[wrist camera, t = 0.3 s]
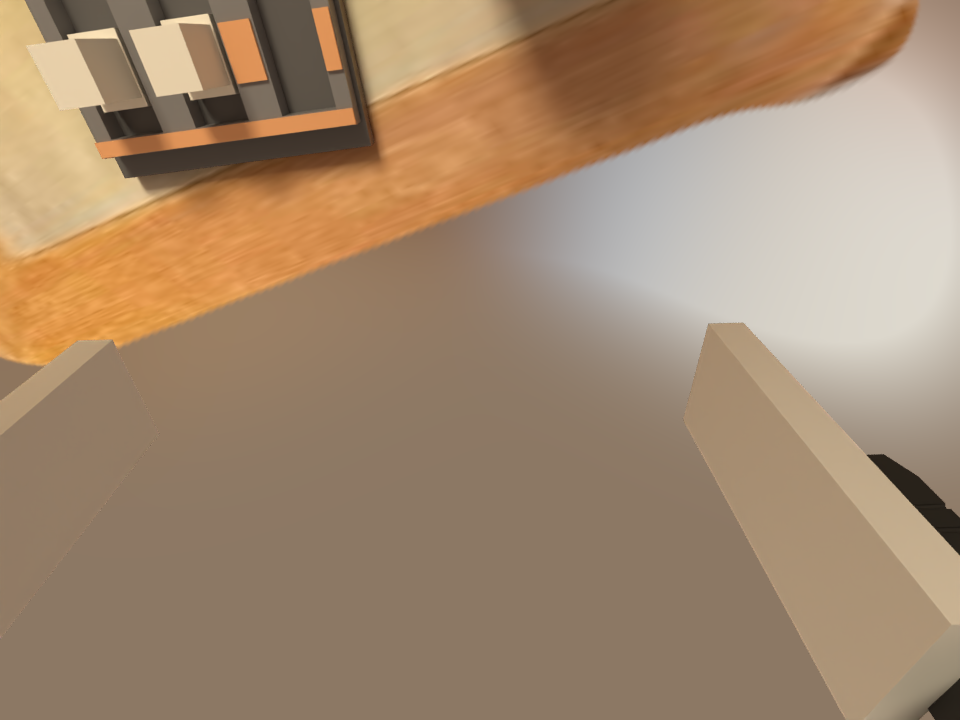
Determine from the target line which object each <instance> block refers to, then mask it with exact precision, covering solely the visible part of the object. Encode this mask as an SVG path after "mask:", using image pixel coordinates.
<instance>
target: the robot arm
mask: <svg viewBox="0 0 960 720" xmlns="http://www.w3.org/2000/svg"><path fill="white" fill-rule="evenodd" d="M683 421H684V423H685V425H686V426H687V428H688V430H689V432H690V434H691V436H692V437H693V439H694V441H695V443H696V445H697V447H698V449H699V450H700V452H701V454H702V456H703V458H704V459H705V461H706V463H707V465H708V467H709V469H710V470H711V472H712V474H713V476H714V478H715V480H716V482H717V484H718V485H719V487H720V489H721V491H722V493H723V495H724V496H725V498H726V500H727V502H728V504H729V505H730V508H731V509H732V511H733V513H734V515H735V517H736V519H737V520H738V522H739V524H740V526H741V528H742V530H743V532H744V533H745V535H746V537H747V539H748V541H749V543H750V544H751V546H752V548H753V550H754V552H755V554H756V556H757V557H758V559H759V561H760V563H761V565H762V566H763V568H764V570H765V572H766V574H767V576H768V577H769V579H770V581H771V583H772V585H773V587H774V589H775V591H776V592H777V594H778V596H779V598H780V600H781V602H782V603H783V605H784V607H785V609H786V611H787V613H788V614H789V616H790V618H791V620H792V622H793V624H794V625H795V627H796V629H797V631H798V633H799V635H800V636H801V639H802V640H803V642H804V644H805V646H806V648H807V650H808V651H809V653H810V655H811V657H812V659H813V660H814V662H815V664H816V666H817V668H818V670H819V672H820V673H821V675H822V677H823V679H824V681H825V683H826V685H827V686H828V688H829V690H830V692H831V694H832V696H833V698H834V699H835V701H836V703H837V705H838V707H839V708H840V710H841V712H842V714H843V716H844V718H845V719H846V720H919V719H920V718H921V717H922V716H923V715H924V714H925V713H927V712H928V711H929V712H930V713H931V714H932V716H933V717H934V719H935V720H960V518H959V517H958V516H957V515H956V514H955V513H954V512H953V511H952V510H951V509H946V507H945V503H944V502H943V501H942V500H941V499H940V498H939V497H938V496H937V495H936V494H935V493H934V492H933V491H932V490H931V489H930V488H929V487H928V486H927V485H926V484H925V483H924V482H923V481H922V480H921V479H920V478H919V477H918V476H917V475H915V474H914V473H912V472H910V471H909V470H907V469H906V468H904V467H903V466H901V465H900V464H898V463H896V462H895V461H893V460H892V459H890V458H888V457H887V456H886V455H884V454H883V455H882V454H880V455H866V454H865V453H864V452H863V451H862V450H861V449H860V448H859V447H858V446H857V445H856V443H854V441H853V440H852V439H851V438H850V437H849V436H848V435H847V434H846V433H845V432H844V431H843V430H842V428H841V427H840V426H839V425H838V424H837V423H836V422H835V421H834V420H833V419H832V418H831V417H830V416H829V415H828V414H827V412H826V411H825V410H824V409H823V408H822V407H821V406H820V405H819V404H818V403H817V402H816V400H815V399H814V398H813V397H812V396H811V395H810V394H809V393H808V392H807V391H806V390H805V389H804V388H803V386H802V385H800V383H799V382H798V381H797V380H796V379H795V378H794V377H793V376H792V375H791V374H790V373H789V371H788V370H786V368H785V367H784V366H783V365H782V364H781V363H780V362H779V361H778V360H777V359H776V357H775V356H774V355H773V354H772V353H771V352H770V351H769V350H768V349H767V348H766V347H765V346H764V345H763V344H762V342H761V341H760V340H759V339H758V338H757V337H756V336H755V335H754V334H753V333H752V332H751V331H750V329H748V327H747V326H746V325H745V324H744V323H718V324H708V328H707V331H706V335H705V339H704V342H703V346H702V350H701V354H700V358H699V361H698V365H697V369H696V373H695V376H694V380H693V384H692V388H691V392H690V396H689V399H688V403H687V407H686V411H685V415H684V419H683ZM159 434H160V433H159V431H158V429H157V427H156V425H155V423H154V421H153V419H152V417H151V415H150V413H149V411H148V409H147V407H146V405H145V403H144V402H143V400H142V398H141V396H140V394H139V392H138V390H137V388H136V386H135V384H134V382H133V380H132V378H131V376H130V374H129V372H128V370H127V368H126V366H125V364H124V362H123V360H122V358H121V356H120V354H119V352H118V350H117V348H116V346H115V344H114V342H113V340H83V341H77V342H75V343H74V344H73V345H71V346H70V347H69V348H68V349H66V350H65V351H64V352H62V353H61V354H60V355H59V356H57V357H56V358H55V359H54V360H52V361H51V362H50V363H48V364H47V365H46V366H45V367H43V368H42V369H41V370H40V371H39V372H37V373H36V374H34V375H33V376H32V377H31V378H30V379H28V380H27V381H25V382H24V383H23V384H22V385H20V386H19V387H18V388H16V389H15V390H14V391H13V392H12V393H10V394H9V395H8V396H6V397H5V398H4V399H3V400H1V401H0V639H1V637H2V636H3V635H4V633H5V632H6V631H7V630H8V628H9V627H10V626H11V624H12V623H13V622H14V621H15V619H16V618H17V617H18V615H19V614H20V613H21V612H22V610H23V609H24V607H25V606H26V605H27V604H28V603H29V601H30V600H31V599H32V597H33V596H34V595H35V594H36V592H37V591H38V590H39V588H40V587H41V586H42V585H43V583H44V582H45V581H46V579H47V578H48V577H49V576H50V574H51V573H52V572H53V570H54V569H55V568H56V566H57V565H58V564H59V563H60V561H61V560H62V559H63V558H64V556H65V555H66V554H67V552H68V551H69V550H70V548H71V547H72V546H73V545H74V543H75V542H76V541H77V539H78V538H79V537H80V536H81V534H82V533H83V532H84V531H85V529H86V528H87V527H88V525H89V524H90V523H91V522H92V520H93V519H94V518H95V516H96V515H97V514H98V513H99V511H100V510H101V509H102V507H103V506H104V505H105V503H106V502H107V501H108V499H109V498H110V497H111V496H112V495H113V493H114V492H115V491H116V489H117V488H118V487H119V485H120V484H121V483H122V482H123V480H124V479H125V478H126V476H127V475H128V474H129V473H130V471H131V470H132V469H133V467H134V466H135V465H136V464H137V462H138V461H139V460H140V458H141V457H142V456H143V455H144V453H145V452H146V451H147V449H148V448H149V447H150V446H151V444H152V443H153V442H154V441H155V439H156V438H157V437H158V435H159Z"/></svg>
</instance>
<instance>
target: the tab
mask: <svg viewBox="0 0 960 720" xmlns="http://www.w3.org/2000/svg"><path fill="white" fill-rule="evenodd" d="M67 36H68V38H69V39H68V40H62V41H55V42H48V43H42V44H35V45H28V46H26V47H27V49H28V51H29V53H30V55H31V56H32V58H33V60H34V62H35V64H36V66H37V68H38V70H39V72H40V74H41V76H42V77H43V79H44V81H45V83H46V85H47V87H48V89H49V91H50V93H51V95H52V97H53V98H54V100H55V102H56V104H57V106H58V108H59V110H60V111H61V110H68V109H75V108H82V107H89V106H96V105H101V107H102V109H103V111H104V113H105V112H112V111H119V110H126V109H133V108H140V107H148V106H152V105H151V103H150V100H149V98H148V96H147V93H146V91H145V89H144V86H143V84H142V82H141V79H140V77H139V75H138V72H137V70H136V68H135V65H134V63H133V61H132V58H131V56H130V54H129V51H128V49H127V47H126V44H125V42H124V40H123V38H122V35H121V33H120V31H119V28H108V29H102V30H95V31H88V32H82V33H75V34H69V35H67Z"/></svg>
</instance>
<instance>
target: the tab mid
mask: <svg viewBox="0 0 960 720" xmlns="http://www.w3.org/2000/svg"><path fill="white" fill-rule="evenodd" d="M160 23H161V25H162V26H155V27H148V28H142V29H135V30H129V32H130V35H131V37H132V40H133V42H134V44H135V47H136V49H137V51H138V54H139V56H140V59H141V61H142V63H143V66H144V68H145V70H146V73H147V75H148V77H149V80H150V82H151V85H152V87H153V89H154V92H155V94H156V96H157V97H160V96H167V95H174V94H181V93H188V94H189V97H190V99H191V100H197V99H204V98H211V97H219V96H226V95H233V94H238V93H239V90H238V87H237V84H236V81H235V78H234V75H233V72H232V69H231V66H230V63H229V60H228V57H227V54H226V51H225V48H224V46H223V43H222V40H221V37H220V34H219V31H218V28H217V25H216V22H215V19H214V16H213V14H201V15H195V16H188V17H181V18H175V19H168V20H161V21H160Z"/></svg>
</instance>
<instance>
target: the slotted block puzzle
mask: <svg viewBox="0 0 960 720" xmlns="http://www.w3.org/2000/svg"><path fill="white" fill-rule="evenodd" d="M25 2H26V4H27V6H28V8H29V10H30V12H31V13H32V15H33V17H34V19H35V21H36V23H37V25H38V27H39V29H40V31H41V33H42V35H43V37H44V39H45V41H46V43H48V42H55V41H62V40H68V39H69V38H68V36H67V35H69V34H75V33H82V32H88V31H95V30H102V29H108V28H119V31H120V33H121V35H122V38H123V40H124V42H125V44H126V47H127V49H128V51H129V54H130V56H131V58H132V61H133V63H134V65H135V68H136V70H137V72H138V75H139V77H140V79H141V82H142V84H143V86H144V89H145V91H146V93H147V96H148V98H149V100H150V103H151V105H152V106H148V107H140V108H133V109H126V110H119V111H112V112H105V113H104V111H103V109H102V107H101V105H96V106H89V107H82V108H79V109H80V111H81V113H82V115H83V117H84V119H85V121H86V123H87V125H88V127H89V129H90V131H91V133H92V135H93V137H94V139H95V141H96V143H95V145H96V147H97V149H98V151H99V153H100V155H101V157H102V159H103V158H105V159H107V158H114V157H115V159H116V161H117V163H118V165H119V167H120V169H121V171H122V173H123V175H124V177H125V178H132V177H139V176H147V175H154V174H162V173H169V172H177V171H184V170H192V169H199V168H207V167H214V166H222V165H230V164H237V163H245V162H252V161H260V160H267V159H275V158H282V157H290V156H297V155H305V154H312V153H320V152H327V151H335V150H342V149H350V148H358V147H365V146H371V145H372V144H373V143H374V139H373V135H372V130H371V126H370V121H369V116H368V112H367V107H366V103H365V98H364V94H363V89H362V85H361V80H360V76H359V71H358V66H357V62H356V57H355V53H354V48H353V44H352V39H351V35H350V30H349V25H348V21H347V16H346V12H345V7H344V3H343V0H25ZM201 14H213V16H214V19H215V22H216V25H217V28H218V31H219V34H220V37H221V40H222V43H223V46H224V48H225V51H226V54H227V57H228V60H229V63H230V66H231V69H232V72H233V75H234V78H235V81H236V84H237V87H238V90H239V93H238V94H233V95H226V96H219V97H211V98H204V99H197V100H191V99H190V97H189V94H188V93H181V94H174V95H167V96H160V97H157V96H156V94H155V92H154V89H153V87H152V85H151V82H150V80H149V77H148V75H147V73H146V70H145V68H144V66H143V63H142V61H141V59H140V56H139V54H138V51H137V49H136V47H135V44H134V42H133V40H132V37H131V35H130V32H129V30H135V29H142V28H148V27H155V26H162V25H161V23H160V21H161V20H168V19H175V18H181V17H188V16H195V15H201Z"/></svg>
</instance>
